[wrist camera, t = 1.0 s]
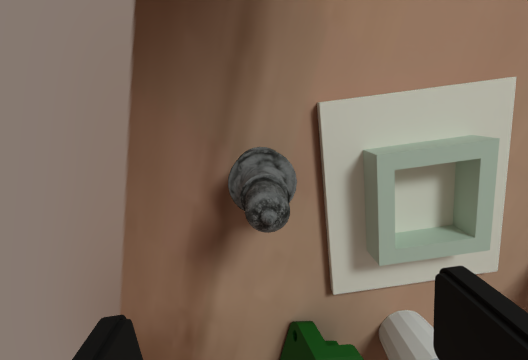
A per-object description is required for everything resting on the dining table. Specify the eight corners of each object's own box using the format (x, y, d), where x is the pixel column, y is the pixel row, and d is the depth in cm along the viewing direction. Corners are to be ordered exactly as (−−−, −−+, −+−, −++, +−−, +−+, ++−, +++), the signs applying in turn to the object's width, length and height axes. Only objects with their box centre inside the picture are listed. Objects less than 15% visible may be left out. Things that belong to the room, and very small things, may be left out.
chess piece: (236, 138, 27) (228, 162, 15) (296, 150, 27) (332, 183, 16) (225, 196, 28) (209, 260, 17) (283, 207, 29) (306, 275, 17)
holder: (316, 102, 26) (328, 102, 23) (506, 77, 27) (550, 73, 23) (330, 288, 32) (342, 314, 28) (490, 266, 32) (523, 288, 28)
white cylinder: (441, 330, 34) (489, 387, 27) (394, 363, 35) (430, 426, 28) (409, 294, 32) (452, 344, 26) (361, 329, 33) (390, 387, 26)
